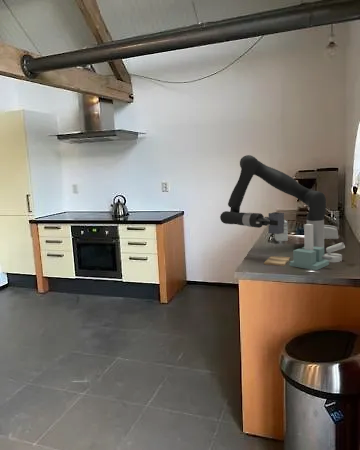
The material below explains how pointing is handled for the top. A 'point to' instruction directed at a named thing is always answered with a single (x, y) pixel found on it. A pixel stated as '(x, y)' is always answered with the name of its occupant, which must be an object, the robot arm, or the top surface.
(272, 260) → the wooden pad
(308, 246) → the vise
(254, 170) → the robot arm
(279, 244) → the top surface
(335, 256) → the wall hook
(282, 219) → the steel sleeve
